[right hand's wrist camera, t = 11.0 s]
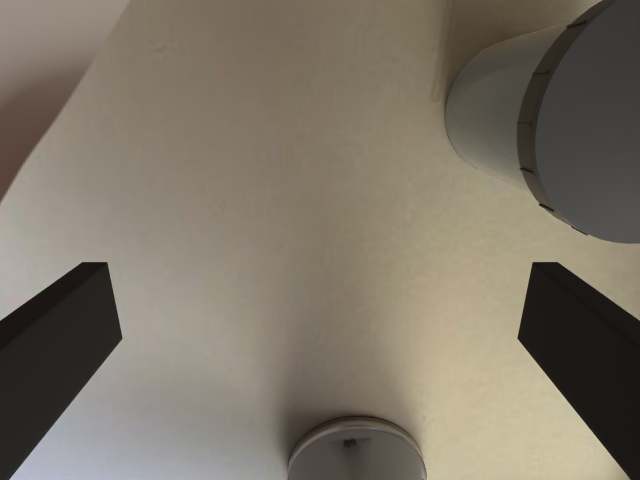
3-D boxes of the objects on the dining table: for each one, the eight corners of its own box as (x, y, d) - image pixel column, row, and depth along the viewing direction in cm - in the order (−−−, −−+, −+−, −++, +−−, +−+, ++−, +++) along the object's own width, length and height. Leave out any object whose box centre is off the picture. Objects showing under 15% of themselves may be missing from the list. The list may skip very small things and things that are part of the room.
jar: (430, 162, 34) (512, 212, 20) (465, 27, 30) (595, -35, 16) (547, 182, 34) (711, 243, 20) (594, 51, 31) (833, 12, 17)
